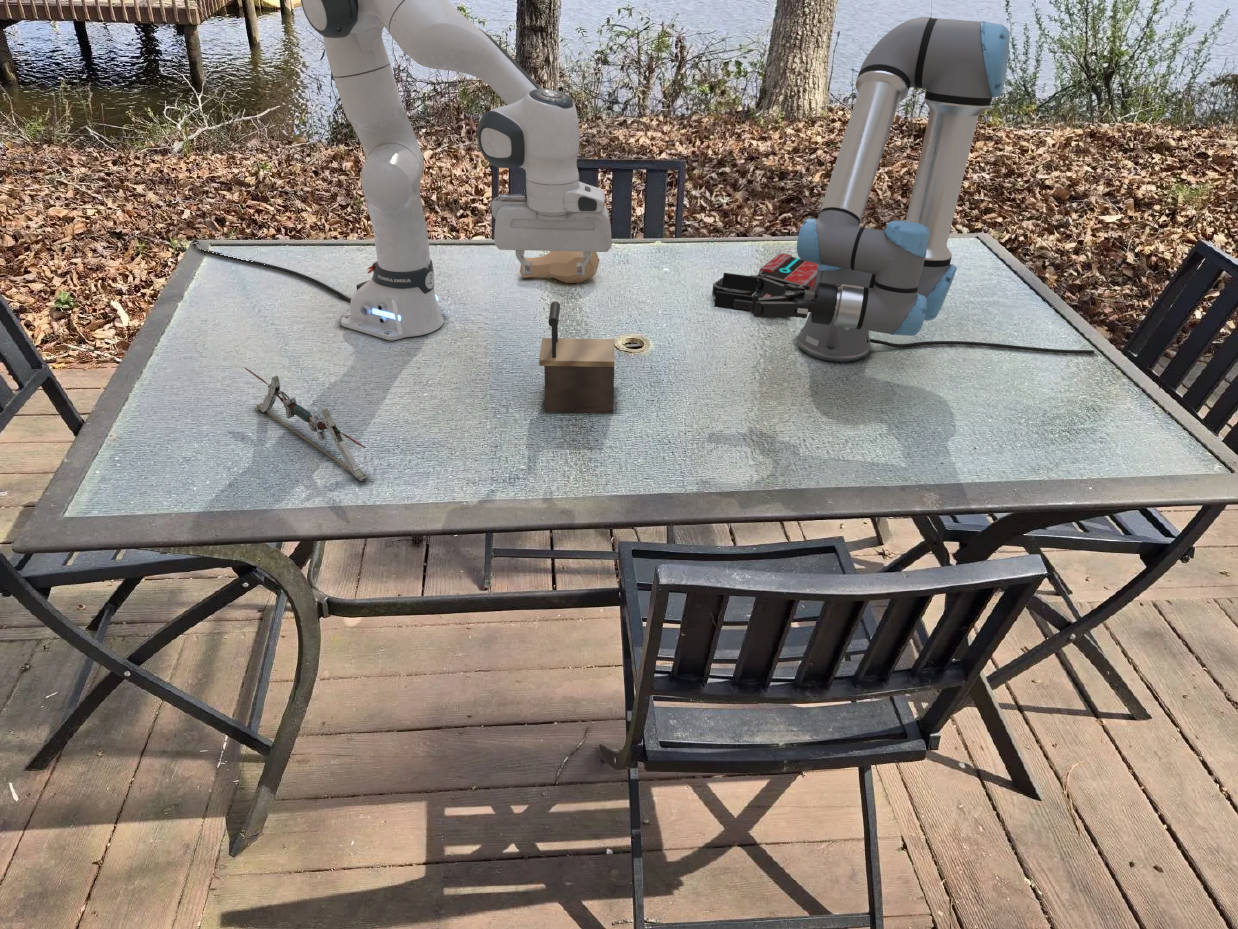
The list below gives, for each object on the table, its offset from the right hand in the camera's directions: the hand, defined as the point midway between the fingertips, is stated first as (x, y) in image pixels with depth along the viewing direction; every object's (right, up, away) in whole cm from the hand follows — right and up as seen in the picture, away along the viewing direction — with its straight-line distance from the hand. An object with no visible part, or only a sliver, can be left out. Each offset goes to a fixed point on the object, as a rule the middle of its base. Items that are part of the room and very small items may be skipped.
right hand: (718, 288), depth 162 cm
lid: (-26, -12, +2) cm, 29 cm away
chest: (-26, -20, +7) cm, 34 cm away
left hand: (-30, +1, -7) cm, 31 cm away
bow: (-73, -29, -8) cm, 79 cm away
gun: (+19, +10, +54) cm, 59 cm away
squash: (-33, +14, +58) cm, 68 cm away
